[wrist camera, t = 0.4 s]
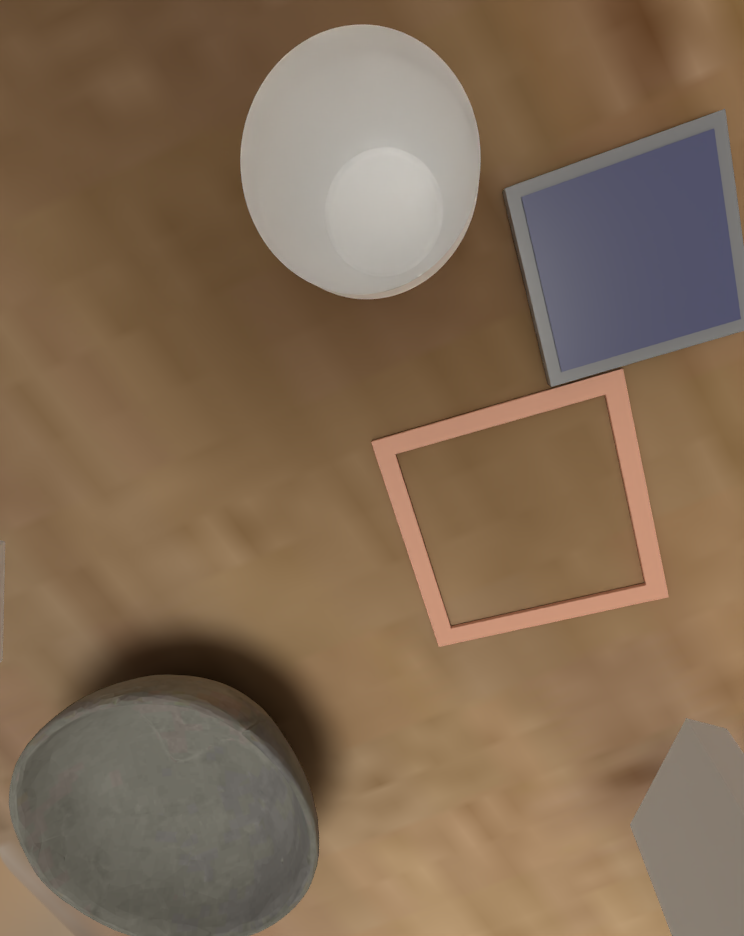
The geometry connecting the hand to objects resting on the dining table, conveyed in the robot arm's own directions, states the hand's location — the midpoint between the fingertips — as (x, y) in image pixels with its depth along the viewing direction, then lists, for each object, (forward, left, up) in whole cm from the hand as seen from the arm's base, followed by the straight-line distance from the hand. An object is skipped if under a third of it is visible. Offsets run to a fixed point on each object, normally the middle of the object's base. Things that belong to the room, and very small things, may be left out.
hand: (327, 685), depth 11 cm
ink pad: (-5, +15, -25) cm, 30 cm away
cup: (-11, +3, -25) cm, 28 cm away
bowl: (+21, -22, -26) cm, 40 cm away
